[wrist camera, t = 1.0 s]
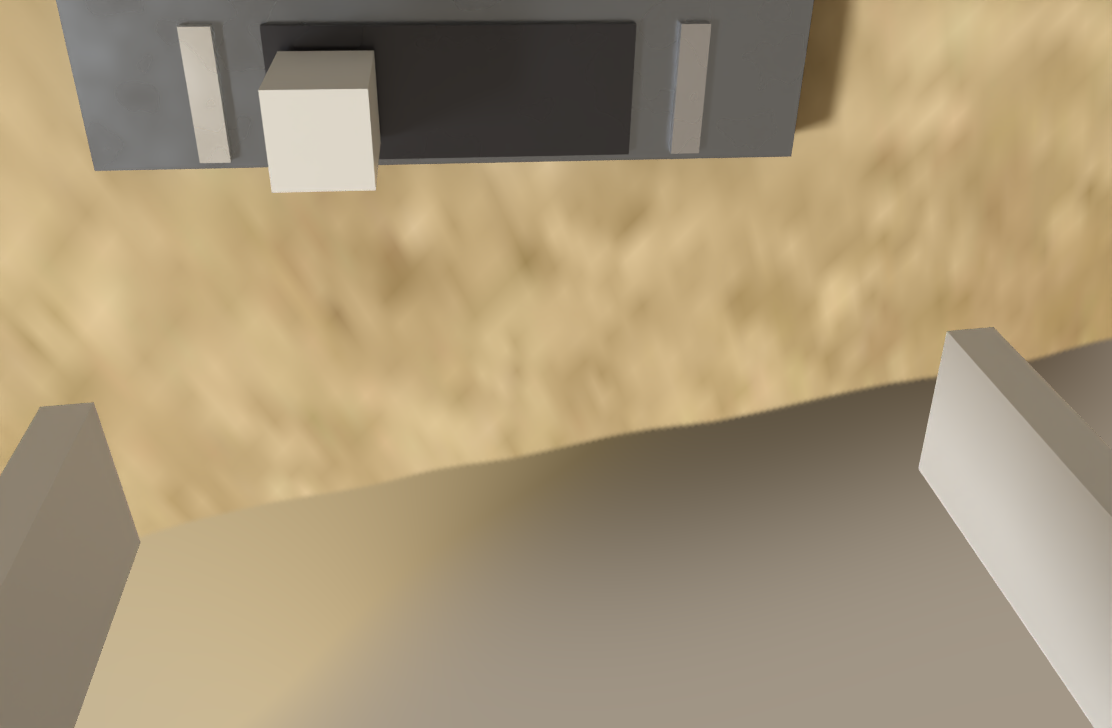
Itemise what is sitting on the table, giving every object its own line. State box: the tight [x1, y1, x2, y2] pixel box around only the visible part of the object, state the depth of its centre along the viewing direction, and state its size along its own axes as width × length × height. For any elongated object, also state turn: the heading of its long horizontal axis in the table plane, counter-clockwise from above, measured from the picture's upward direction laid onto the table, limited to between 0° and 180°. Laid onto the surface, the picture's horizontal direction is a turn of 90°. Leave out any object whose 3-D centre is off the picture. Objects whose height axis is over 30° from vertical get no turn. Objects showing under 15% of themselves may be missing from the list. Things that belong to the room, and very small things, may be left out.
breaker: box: [258, 50, 381, 193], centre depth 30 cm, size 3×3×4 cm
